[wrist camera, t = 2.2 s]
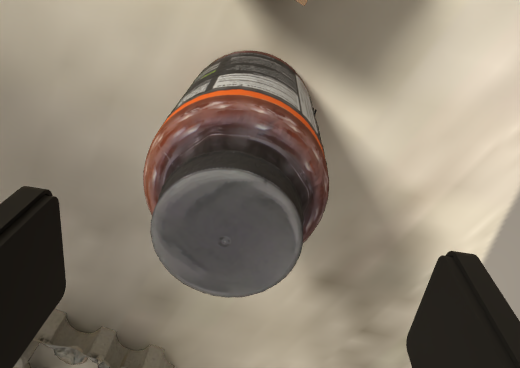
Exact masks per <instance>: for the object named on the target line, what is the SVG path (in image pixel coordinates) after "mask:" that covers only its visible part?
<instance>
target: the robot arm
mask: <svg viewBox="0 0 520 368" xmlns="http://www.w3.org/2000/svg"><path fill="white" fill-rule="evenodd" d="M65 287H66V279H65V268H64V256H63V244H62V233H61V221H60V210H59V201H58V199H57V197H54V196H52V193H51V191H49V190H47V189H40V188H34V187H27V186H23V187H21V188H20V189H19V190H17V191H16V192H15V193H14V194H12V195H11V196H10V197H9V198H7V199H6V200H5V201H4V202H2V203H1V204H0V368H13V367H14V366H15V364H16V363H17V361H18V360H19V359H20V357H21V356H22V354H23V353H24V351H25V350H26V349H27V347H28V346H29V344H30V343H31V341H32V340H33V339H34V337H35V336H36V334H37V333H38V331H39V330H40V329H41V327H42V326H43V324H44V323H45V321H46V320H47V319H48V317H49V316H50V314H51V313H52V311H53V310H54V309H55V307H56V306H57V304H58V303H59V301H60V300H61V298H62V297H63V294H64V292H65ZM406 345H407V352H408V355H409V358H410V362H411V365H412V368H520V321H519V320H518V318H517V317H516V315H515V314H514V312H513V310H512V309H511V308H510V306H509V304H508V303H507V301H506V300H505V298H504V297H503V295H502V294H501V292H500V291H499V289H498V287H497V286H496V284H495V283H494V281H493V280H492V278H491V277H490V275H489V273H488V272H487V270H486V269H485V267H484V266H483V264H482V263H481V261H480V260H479V258H478V257H477V256H476V255H474V254H468V253H462V252H455V251H450V252H448V253H447V254H446V256H440V257H439V259H438V261H437V263H436V265H435V268H434V270H433V273H432V275H431V278H430V280H429V283H428V286H427V288H426V291H425V293H424V296H423V298H422V301H421V303H420V306H419V308H418V311H417V313H416V316H415V318H414V321H413V323H412V326H411V328H410V331H409V333H408V336H407V344H406Z"/></svg>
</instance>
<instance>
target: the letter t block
mask: <svg viewBox="0 0 520 368" xmlns="http://www.w3.org/2000/svg"><path fill="white" fill-rule="evenodd" d="M295 1H297V2H299V3H300V4H302V5H304V6H305V4H306V2H307V1H308V0H295Z"/></svg>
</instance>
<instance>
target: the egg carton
mask: <svg viewBox="0 0 520 368" xmlns="http://www.w3.org/2000/svg"><path fill="white" fill-rule="evenodd" d="M66 317H67V314H66V313H64V312H62V311H59V310H56V309H54V310H53V311H52V313H51V314H50V316H49V317H48V319H47V320H46V321H45V323H44V324H43V326H42V327H41V329H40V330H39V331H38V333H37V334H36V336H35V337H34V339H33V340H32V341H31V343H30V344H29V346H28V347H27V349H26V350H25V351H24V353H23V354H22V356H21V357H20V359H19V360H18V361H17V363H16V364H15V366H14V367H13V368H30V365H29V364H28V360H29V359H30V357H31V356H32V354H33V352H34V351H35V349H36V348H37V346H38V344H39V342H40V343H43V344H44V345H45V346H47V347H50V348H53V349H54V352H55V355H56V356H57V357H58V358H59V359H61V360H62V361H64V362H66V363H68V364H71V365H74V364H81V363H84V362H85V361H86V360H87V359H88V358H89V359H90V360H92V362H95V363H97V364H98V368H174V366H173V365H172V364H170V363H169V362H168V361H167V360H166V359H165V357H164V349H163V348H160V347H158V346H155V345H150V346H148V347H147V348H145V349H143V350H138V351H136V350H130V349H128V348H125V347H124V346H122V345H121V344H120V343H119V341H118V340H117V332H116V331H114V330H111V329H108V328H105V327H101V328H100V329H99V330H97V331H96V332H93V333H84V332H80V331H77V330H76V329H74V328H73V327H72V326H71V325H70V324H69V323H68V321H67V319H66ZM98 360H100V361H102V363H101V364H99V363H98Z"/></svg>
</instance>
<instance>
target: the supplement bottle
mask: <svg viewBox="0 0 520 368" xmlns="http://www.w3.org/2000/svg"><path fill="white" fill-rule="evenodd" d="M315 114H316V110H315V113H314V108H313V107H312V101H311V98H310V96H309V94H308V91H307V89H306V87H305V85H304V83H303V81H302V80H301V78H300V76H299V75H298V74H297V73H296V72H295V70H294V69H293V68H292V67H291V66H289V65H288V64H287V63H286V62H284V61H283V60H281V59H279V58H277V57H275V56H273V55H270V54H267V53H263V52H258V51H239V52H234V53H231V54H228V55H225V56H223V57H221V58H219V59H217V60H215V61H214V62H212V63H211V64H210V65H209V66H208V67H207V68H205V69H204V70H203V71H202V72H201V73H200V74H199V76H198V77H197V78H196V79H195V81H194V82H193V84H192V85H191V86H190V88H189V89H188V90H187V92H186V93H185V94H184V96H183V97H182V98H181V100H180V101H179V103H178V104H177V105H176V107H175V108H174V109H173V111H172V112H171V114H170V115H169V116H168V117H167V119H166V120H165V122H164V124H163V125H162V127H161V128H160V130H159V131H158V133H157V134H156V136H155V138H154V140H153V141H152V143H151V146H150V149H149V152H148V154H147V158H146V162H145V167H144V175H143V180H144V191H145V197H146V201H147V204H148V207H149V210H150V212H151V214H152V220H151V237H152V242H153V246H154V249H155V252H156V254H157V256H158V257H159V259H160V261H161V262H162V264H163V265H164V266H165V268H166V269H167V270H168V271H169V272H170V273H171V274H172V275H173V276H174V277H175V278H177V279H178V280H179V281H181V282H182V283H183V284H185V285H187V286H189V287H191V288H193V289H196V290H198V291H201V292H203V293H207V294H210V295H213V296H221V297H245V296H250V295H253V294H257V293H260V292H263V291H265V290H267V289H269V288H271V287H273V286H274V285H276V284H277V283H279V282H280V281H281V280H282V279H284V278H285V277H286V276H287V275H288V274H289V272H290V271H291V270H292V269H293V267H294V266H295V264H296V262H297V260H298V258H299V256H300V253H301V249H302V244H303V243H304V242H305V241H306V240H307V239H308V237H309V236H310V235H311V233H312V232H313V231H314V229H315V228H316V226H317V225H318V223H319V222H320V220H321V218H322V215H323V212H324V211H325V207H326V203H327V200H328V192H329V177H328V170H327V163H326V160H325V155H324V149H323V145H322V143H321V138H320V133H319V129H318V125H317V122H316V118H315Z"/></svg>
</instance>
